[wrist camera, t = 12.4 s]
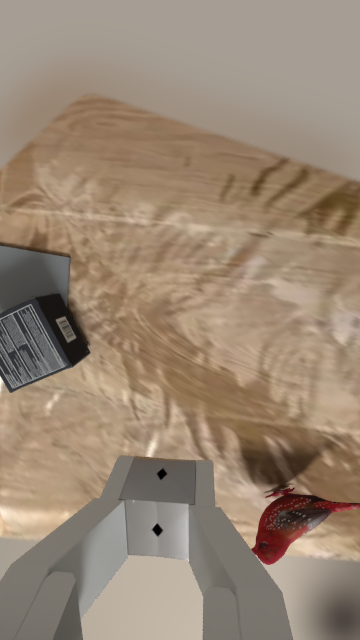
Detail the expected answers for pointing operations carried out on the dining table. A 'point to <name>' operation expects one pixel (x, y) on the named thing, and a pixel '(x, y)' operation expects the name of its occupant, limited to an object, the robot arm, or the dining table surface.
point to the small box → (38, 341)
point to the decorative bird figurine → (291, 522)
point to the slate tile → (31, 276)
